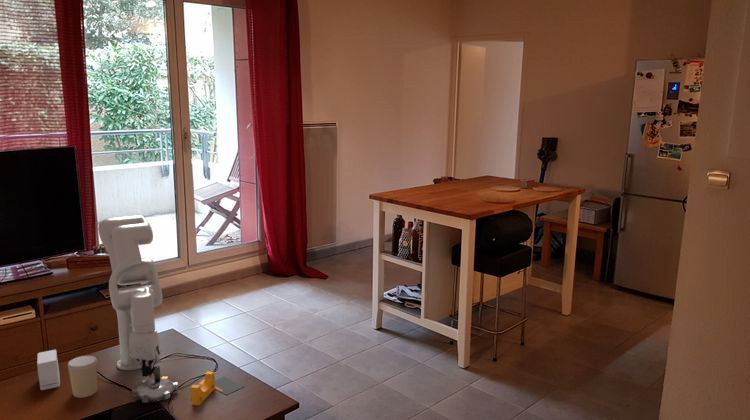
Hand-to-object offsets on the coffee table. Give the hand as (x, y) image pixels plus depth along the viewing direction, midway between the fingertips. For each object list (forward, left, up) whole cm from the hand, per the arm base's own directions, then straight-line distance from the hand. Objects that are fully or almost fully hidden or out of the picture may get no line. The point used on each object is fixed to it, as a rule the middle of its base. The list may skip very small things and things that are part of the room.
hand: (147, 374), depth 211 cm
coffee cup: (-13, -16, -5) cm, 22 cm away
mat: (+21, +19, -5) cm, 28 cm away
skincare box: (-30, -21, -5) cm, 38 cm away
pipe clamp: (+20, +9, -5) cm, 23 cm away
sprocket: (+8, -1, -3) cm, 8 cm away
